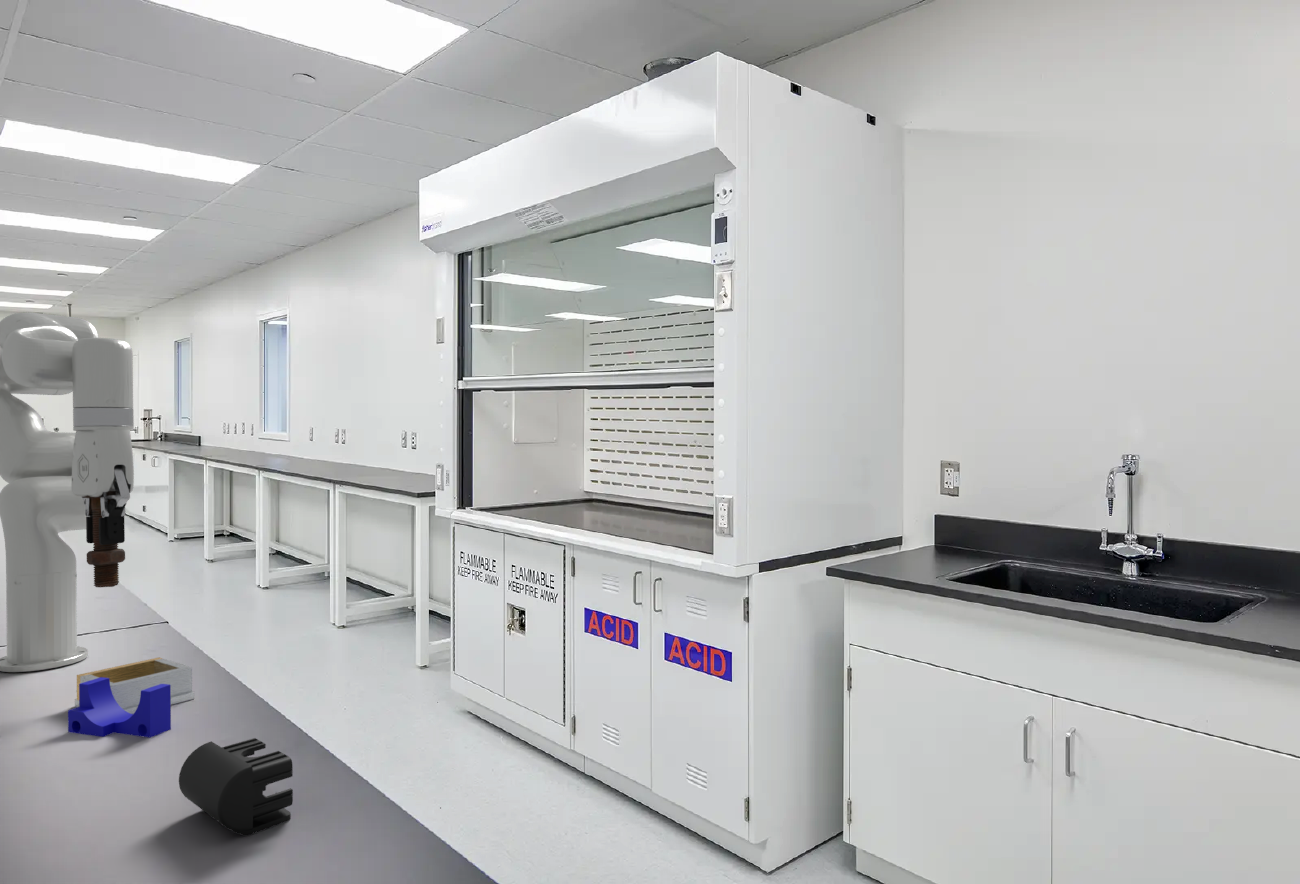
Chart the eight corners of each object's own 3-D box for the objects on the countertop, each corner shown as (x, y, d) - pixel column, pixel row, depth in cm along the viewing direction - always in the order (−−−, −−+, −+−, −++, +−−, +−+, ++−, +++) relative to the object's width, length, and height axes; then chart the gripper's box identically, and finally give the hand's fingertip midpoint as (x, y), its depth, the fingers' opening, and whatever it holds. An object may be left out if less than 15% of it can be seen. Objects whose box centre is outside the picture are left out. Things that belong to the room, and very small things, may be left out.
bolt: (103, 590, 116) (101, 487, 116) (74, 589, 117) (73, 487, 117) (136, 583, 121) (135, 485, 122) (109, 583, 122) (107, 486, 123)
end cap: (178, 817, 79) (177, 749, 79) (251, 792, 85) (250, 729, 85) (218, 850, 73) (218, 776, 73) (295, 821, 78) (294, 753, 78)
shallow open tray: (74, 706, 113) (74, 674, 112) (157, 685, 122) (157, 656, 122) (109, 721, 106) (109, 687, 106) (194, 698, 116) (194, 667, 116)
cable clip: (68, 733, 103) (67, 687, 102) (101, 721, 107) (100, 677, 107) (139, 743, 99) (139, 695, 99) (170, 730, 103) (170, 684, 103)
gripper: (51, 422, 121) (53, 543, 121) (100, 418, 112) (101, 548, 111) (107, 423, 127) (108, 537, 127) (157, 419, 118) (158, 543, 118)
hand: (105, 541), depth 119 cm, fingers closed on bolt, 3 cm apart
